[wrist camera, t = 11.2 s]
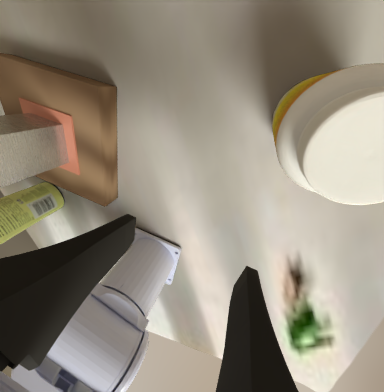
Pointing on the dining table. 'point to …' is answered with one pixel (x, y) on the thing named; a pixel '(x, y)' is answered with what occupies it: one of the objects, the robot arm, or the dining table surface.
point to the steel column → (29, 146)
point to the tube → (27, 208)
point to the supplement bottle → (335, 134)
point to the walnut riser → (69, 122)
